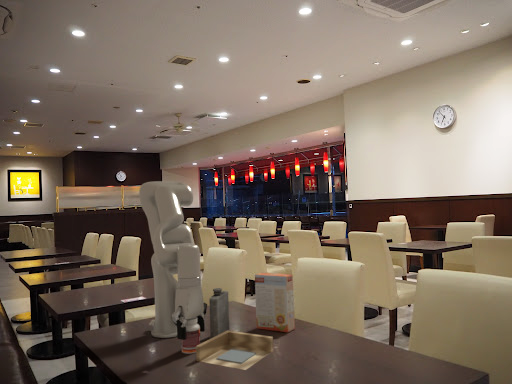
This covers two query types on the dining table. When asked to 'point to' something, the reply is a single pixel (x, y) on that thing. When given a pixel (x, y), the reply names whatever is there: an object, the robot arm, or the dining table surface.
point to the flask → (219, 312)
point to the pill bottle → (191, 336)
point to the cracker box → (274, 302)
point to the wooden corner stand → (234, 341)
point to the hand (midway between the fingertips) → (191, 335)
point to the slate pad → (236, 356)
